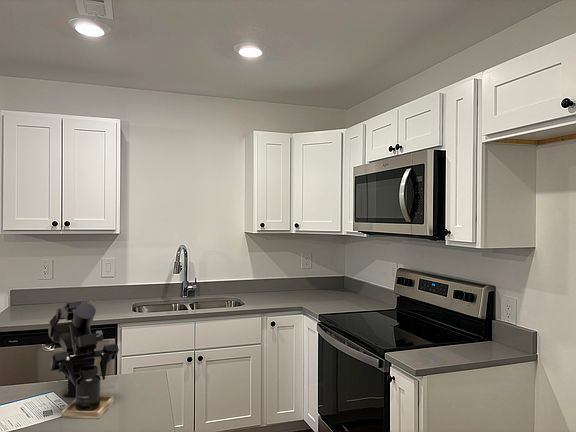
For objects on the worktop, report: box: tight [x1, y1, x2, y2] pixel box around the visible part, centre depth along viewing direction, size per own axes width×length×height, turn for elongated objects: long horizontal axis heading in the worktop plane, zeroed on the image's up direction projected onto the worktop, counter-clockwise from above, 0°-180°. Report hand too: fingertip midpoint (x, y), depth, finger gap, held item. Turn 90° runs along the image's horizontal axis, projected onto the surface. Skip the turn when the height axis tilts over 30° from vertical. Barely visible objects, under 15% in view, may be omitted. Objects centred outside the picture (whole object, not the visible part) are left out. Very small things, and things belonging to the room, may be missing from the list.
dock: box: [60, 395, 115, 420], centre depth 136 cm, size 11×11×2 cm
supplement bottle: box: [75, 364, 102, 411], centre depth 136 cm, size 7×7×12 cm
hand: (90, 382), depth 135 cm, fingers open, 8 cm apart
